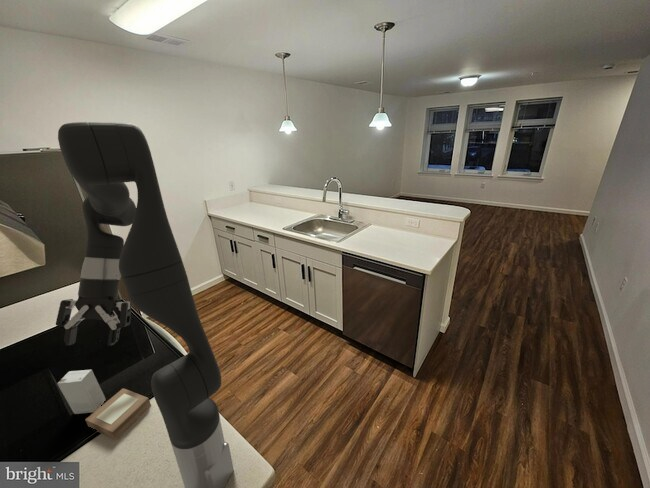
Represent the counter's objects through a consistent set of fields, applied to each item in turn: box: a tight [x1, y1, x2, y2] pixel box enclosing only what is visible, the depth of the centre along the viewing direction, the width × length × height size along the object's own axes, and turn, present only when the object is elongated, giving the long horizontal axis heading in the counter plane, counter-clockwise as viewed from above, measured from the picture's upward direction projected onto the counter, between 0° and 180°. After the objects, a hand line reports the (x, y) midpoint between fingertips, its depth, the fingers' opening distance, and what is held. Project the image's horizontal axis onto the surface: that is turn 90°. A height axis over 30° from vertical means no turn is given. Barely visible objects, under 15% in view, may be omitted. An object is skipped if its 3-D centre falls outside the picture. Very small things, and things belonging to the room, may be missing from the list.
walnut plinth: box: [84, 388, 152, 441], centre depth 73 cm, size 10×10×3 cm
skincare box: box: [57, 369, 107, 415], centre depth 74 cm, size 6×4×12 cm
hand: (91, 344), depth 64 cm, fingers open, 8 cm apart
